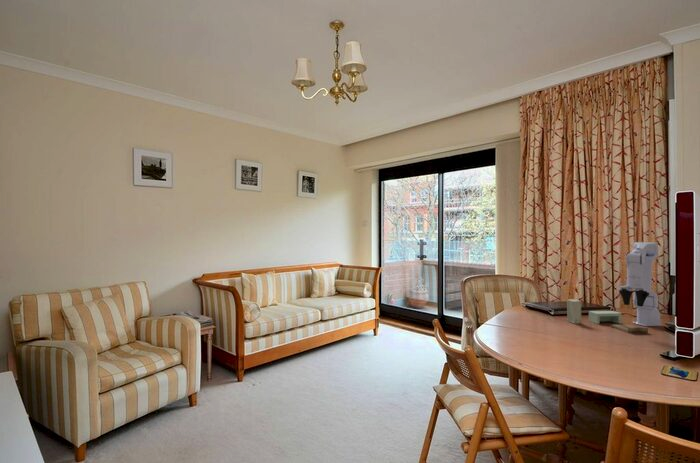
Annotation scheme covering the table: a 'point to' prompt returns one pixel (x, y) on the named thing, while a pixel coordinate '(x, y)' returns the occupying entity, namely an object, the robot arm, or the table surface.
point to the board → (630, 329)
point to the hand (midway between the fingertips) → (633, 305)
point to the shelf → (604, 316)
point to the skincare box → (574, 311)
